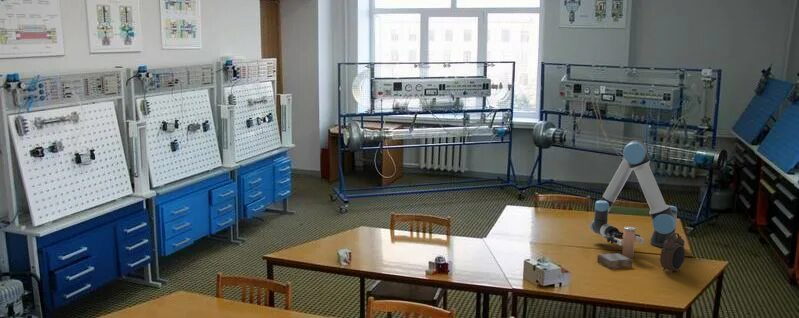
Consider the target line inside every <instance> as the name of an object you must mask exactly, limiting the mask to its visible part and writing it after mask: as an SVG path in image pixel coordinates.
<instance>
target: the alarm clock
mask: <svg viewBox="0 0 799 318" xmlns="http://www.w3.org/2000/svg"><path fill="white" fill-rule="evenodd" d="M673 235H676V238H674V239H673V240H672V239H671V237H672V236H673ZM684 246H685V240H684V238H682V236H681V235H680V233H678V232H677V233H676V232H675V233H673V234H671V235H670V236H669V239H667V240H666V241H665V242H664V247H662V248H661V252H660V257H659V262H660V265H661V267H662V268H663V270H662V271H663V272H665V270H669V275H670V274H671V273H672V272H673V271H674V272H676V271H679V272H680V271H681V268H682V266H683V264H684V261H685V257H686V250H685V247H684ZM671 275H672V274H671Z"/></svg>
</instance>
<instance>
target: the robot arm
mask: <svg viewBox="0 0 799 318" xmlns="http://www.w3.org/2000/svg"><path fill="white" fill-rule="evenodd" d="M647 150H648V148H647V145H646V144H645V143H644V141H642V140H640V139H633V140H630V141H628V143H627V144H626V145H624V148H623V151H622V154H623V155H622V157H621V158H622V160H621V162H620V164H619V166H618V168H617V170H616V171H615V173H614V175H613V176H612V179H611V180H610V182H609V184H608V186H607V187H606V189H605V191H604V192H603V194H602V196H601V199H599V200H596V201H595V204H594V218H593V220H592V221H591V223H590V227H589V228H590V229H591V231H592V232H594V233H595V234H597V235H600V236H602V237H604V238H605V240H606V242H607V243H610V244H616V245H618V246H622V247H623V235H624V231H620V230H619V229H618V228H617V227H615V226H613V225H610V224H609V222H608V221H609V219H608V217H609V212H610V211H611V209H612V207H613V205H614V203H615V201H616V200H617V198H618V197H619V195H620V193H621V192H622V189H623V188H624V186H625V185H626V182H627V181H628V179H629V177H630V176H631V173H632V172H634V174H635V176H636V178H637V181H638V183H639V186H640V188H641V190H642V193H643V196H644V198H645V199H646V202H647V204H648V207H649V209H650V210H649V212H648V213H649V216H650V219H651V222H652V227H653V232H652V234H651V236H650V238H649V244H650V245H651V246H655V247H659V248H663V247H664V242H665V241H666V240H667V239H669V236H670V235H671V234H673V233H676V228H677V216H678V208H677V206H674V205H668V204H666V202H665V200H664V197H663V195H662V192H661V190H660V188H659V186H658V183H657V180H656V178H655V176H654V174H653V171H652V170H651V166H650V163H651V159H650V157H649V154H648V152H647ZM676 237H677V234H676V235H673V236H672V237H671V239H672V240H673V239H674V238H676ZM635 242H637V243H639V244H641V245H643V244H644V242H645V240H644V238H643V237H641V235H640V234H636V233H635Z"/></svg>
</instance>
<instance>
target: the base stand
mask: <svg viewBox="0 0 799 318" xmlns="http://www.w3.org/2000/svg"><path fill="white" fill-rule="evenodd" d="M596 261H597V263H598V264H600V263H601V264H600V265H602V266H604V267H606V268H608V269H611V270H612V269H623V267H624V268H632V267H633V258H628V257H626V256H624V255H622V253H619V252H617V253H605V254H604V253H603V254H598V255H597V260H596Z"/></svg>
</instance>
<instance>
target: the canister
mask: <svg viewBox="0 0 799 318" xmlns="http://www.w3.org/2000/svg"><path fill="white" fill-rule="evenodd" d="M623 233H624V235H623V239H622V251H621V255H624V256H626V257H628V258H630V259H633V257H635V256H634V255H635V254H634V253H635V242H636V241H635V234H636V227H633V226H624V227H623Z"/></svg>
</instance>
